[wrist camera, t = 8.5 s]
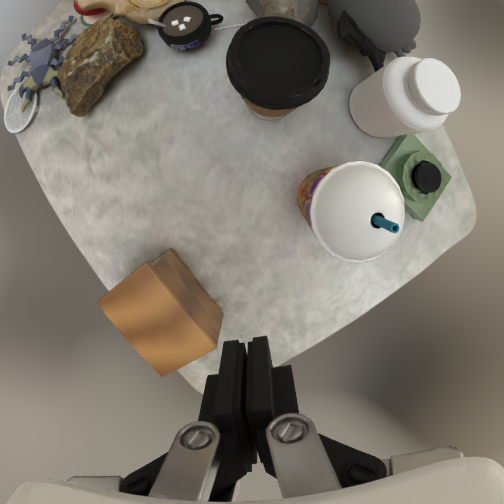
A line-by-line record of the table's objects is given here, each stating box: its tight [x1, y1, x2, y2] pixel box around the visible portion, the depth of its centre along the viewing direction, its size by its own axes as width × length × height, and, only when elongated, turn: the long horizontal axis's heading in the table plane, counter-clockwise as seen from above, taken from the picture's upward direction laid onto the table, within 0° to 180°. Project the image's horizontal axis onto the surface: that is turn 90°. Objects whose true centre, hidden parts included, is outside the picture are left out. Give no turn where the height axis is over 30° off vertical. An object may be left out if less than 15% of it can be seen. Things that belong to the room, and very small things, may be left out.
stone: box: [246, 0, 319, 28], centre depth 24 cm, size 12×8×8 cm
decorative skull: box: [327, 0, 421, 72], centre depth 24 cm, size 19×12×15 cm
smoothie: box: [298, 161, 405, 263], centre depth 26 cm, size 8×8×20 cm
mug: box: [148, 1, 248, 51], centre depth 26 cm, size 12×6×8 cm, turn 102°
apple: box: [74, 1, 115, 29], centre depth 24 cm, size 8×8×6 cm
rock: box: [58, 17, 144, 117], centre depth 28 cm, size 14×6×10 cm
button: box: [412, 163, 442, 193], centre depth 30 cm, size 4×4×2 cm
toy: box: [7, 16, 78, 114], centre depth 28 cm, size 15×4×15 cm
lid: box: [97, 261, 217, 377], centre depth 32 cm, size 12×9×1 cm
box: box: [151, 248, 223, 344], centre depth 36 cm, size 11×9×8 cm
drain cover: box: [4, 85, 39, 133], centre depth 31 cm, size 8×8×1 cm
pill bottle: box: [349, 56, 461, 138], centre depth 25 cm, size 8×8×15 cm
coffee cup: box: [226, 16, 330, 120], centre depth 25 cm, size 8×8×15 cm
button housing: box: [379, 133, 451, 221], centre depth 33 cm, size 9×8×4 cm
